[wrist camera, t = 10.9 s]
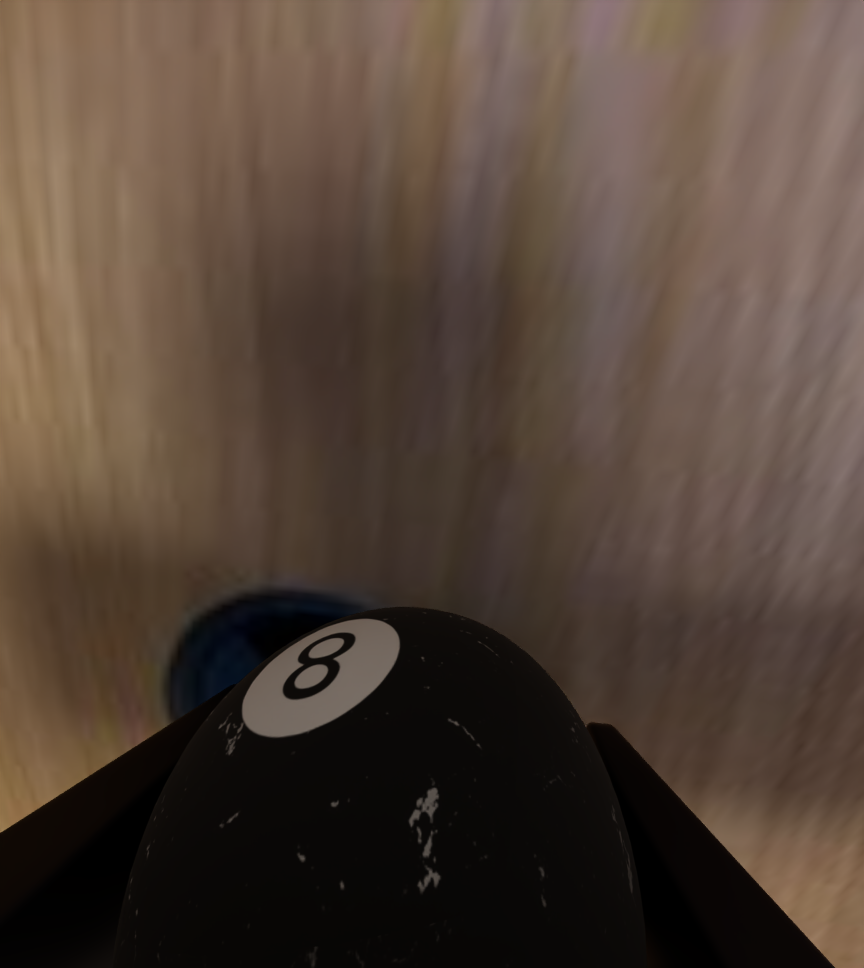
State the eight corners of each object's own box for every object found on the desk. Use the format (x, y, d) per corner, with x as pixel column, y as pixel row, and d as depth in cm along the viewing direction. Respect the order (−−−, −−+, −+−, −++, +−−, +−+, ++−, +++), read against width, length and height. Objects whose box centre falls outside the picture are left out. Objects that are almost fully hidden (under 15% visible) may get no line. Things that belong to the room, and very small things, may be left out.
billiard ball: (339, 807, 10) (141, 1449, 4) (238, 585, 8) (-295, 1074, 3) (599, 773, 9) (846, 1571, 3) (534, 513, 7) (760, 1060, 2)
